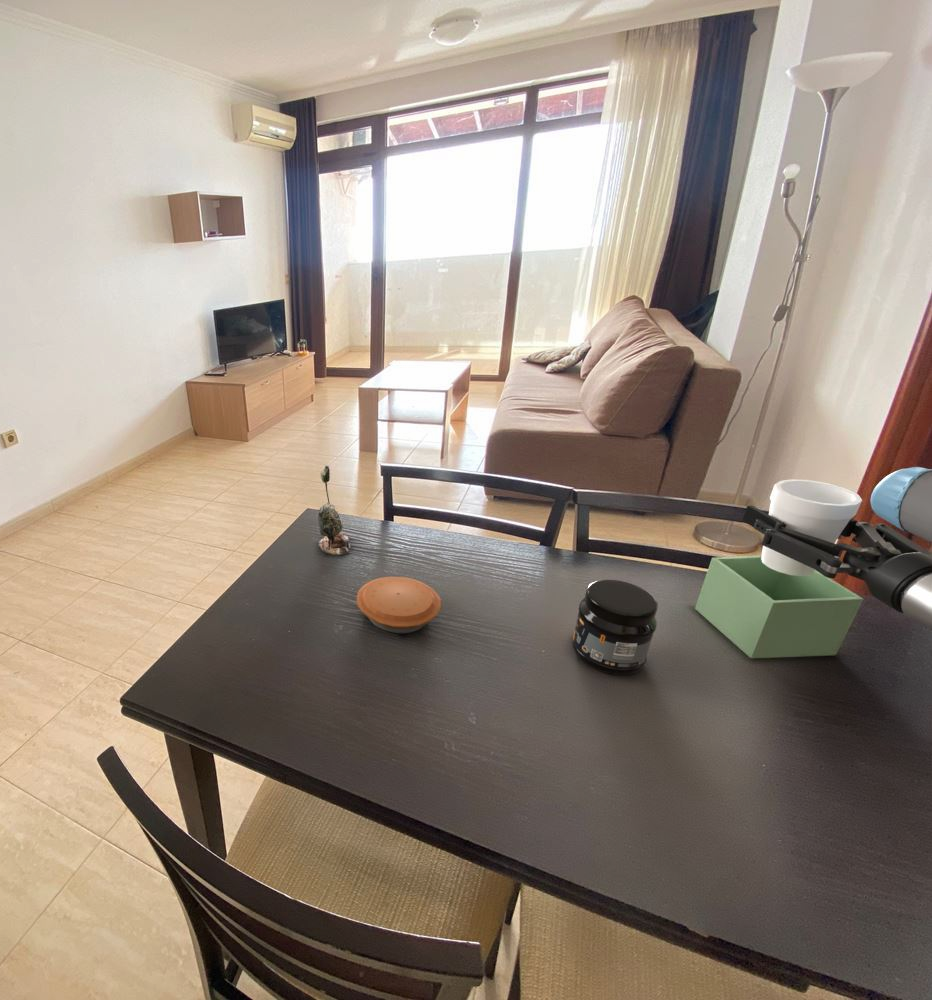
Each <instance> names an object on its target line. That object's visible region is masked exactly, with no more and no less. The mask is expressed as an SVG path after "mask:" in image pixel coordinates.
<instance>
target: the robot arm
mask: <svg viewBox="0 0 932 1000" xmlns="http://www.w3.org/2000/svg"><path fill="white" fill-rule="evenodd" d="M870 506H871V510H872V511H873V512H874V513H875V515H876V516H878V517H879V518H881V519H883V520H885V521H886V522H888V523H889V524H891V525H893V526H894V527H896V528H898V529H900V530H901V532H904V533H906V534H912V535H914V536H915V537H919V538H921V539H923V540H925V541H927V542H930V543H932V468H925V467H921V466H913V467H908V468H901V469H898V470H896V471H894V472H892V473H890V474H888V475H887V476H885V477H883V479H882V480H881V481H879V482H878V484H877V485H876V486H875V487H874V489H873V491H872V492H871V495H870ZM741 521H742V522H743V523H745V524H747V525H749V527H752V528H754V530H756V531H757V532H759V533H761V534H762V535H763V537H762V540H761V543H760V544H761V546H762V547H763V546H765V547H767V548H770V549H772V550H774V551H776V552H778V553H781V554H783V555H785V556H787V557H789V558H791V559H794V560H796V561H798V562H800V563H802V564H804V565H807V566H809V567H811V568H813V569H815V570H816V571H818V572H819V573H821V574H822V575H824V576H825V577H828V578H830V579H836V578H837V575H838V574H847V575H849V576H850V577H852V578H856V579H858V580H861V581H864V582H865V584H866V586H867V588H868V591H869V593H870V594H871V596H872V597H873V598H875V599H877V600H878V601H880V602H881V603H883V604H884V605H887V606H888V607H890V608H892V609H893V610H895V611H896V612H898V613H901V614H904V615H905V617H907V618H908V619H911V620H913V621H914V622H916V623H918V624H919V625H921V626H922V627H925V628H926V629H928V630H929V631H931V632H932V552H931V551H929V550H928V549H927V550H926V549H925V548H923V547H922V546H920V545H918V544H917V543H915V542H914V541H912V540H911V539H909V538H908V537H906V536H904V535H903V534H901V533H900V532H899V531H897V530H895V529H894V528H892V527H891V526H889V525H887V524H885V523H883V522H882V523H880V522H878V523H876V524H875V525H872V524H871V523H869V522H866V521H858V520H856V519H854V518H853V517H852V518H851V519H850V521H849V522H848V524H847V525H846V527H845V528H844V530H843V531H842V532H841V534H840V535H839V536H842V537H844V538H851V536H852V534H853V536H852V538H851V540H850V542H851V543H853V542H854V543H857V544H858V546H859V547H857V546H855V545H851V544H848V543H845V542H838V543H831V542H828V541H825V540H822V539H819V538H815V537H812V536H809V535H806V534H803V533H800V532H797V531H794V530H791V529H787V528H785V527H786V524H784V522H781V521H779V520H777V519H775V518H774V517H772V516H770V515H769V513H767V512H765V511H763V510H761V509H759V508H757V507H756V506H754V505H747V506H746V508H745V512H744V515H743V517H742V520H741ZM843 552H845V553H844V555H843V558H842V559H841V556H842V554H843ZM840 559H841V560H840Z"/></svg>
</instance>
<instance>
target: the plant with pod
mask: <svg viewBox="0 0 932 1000" xmlns="http://www.w3.org/2000/svg"><path fill="white" fill-rule="evenodd" d="M330 471H331V470H330V467H329V465H324V467H323V468H322V470H321V471H320V479H321V481H322V482H323V483H324V485H325V492H326V497H327V498H326V499H327V503H325V504H323V505H321V506H320V508H317V511H318V517H317V521H318V522H317V523H318V526H319V534H320V535H321V536H322V538H321V539H320V540H319V542H318V543H317V545H318V546H319V547H320V549H321V550H322V552H323V553H324V554H327V555H333V556H336V555H337V556H338V555H341V556H342V555H345V554H347V553H348V552H349V551H350V548H351V546H352V545H351V542H350V538H349V536H347V535H346V534H344V533H343V532H342V530H343V529H344V526H343V519H342V518H341V514H340V512H339V511H338V510H337V508H336V506H335V505H334V504H331V503H330V498H329V492H328V483H329V482H330V479H331V477H330V476H331V473H330Z"/></svg>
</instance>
